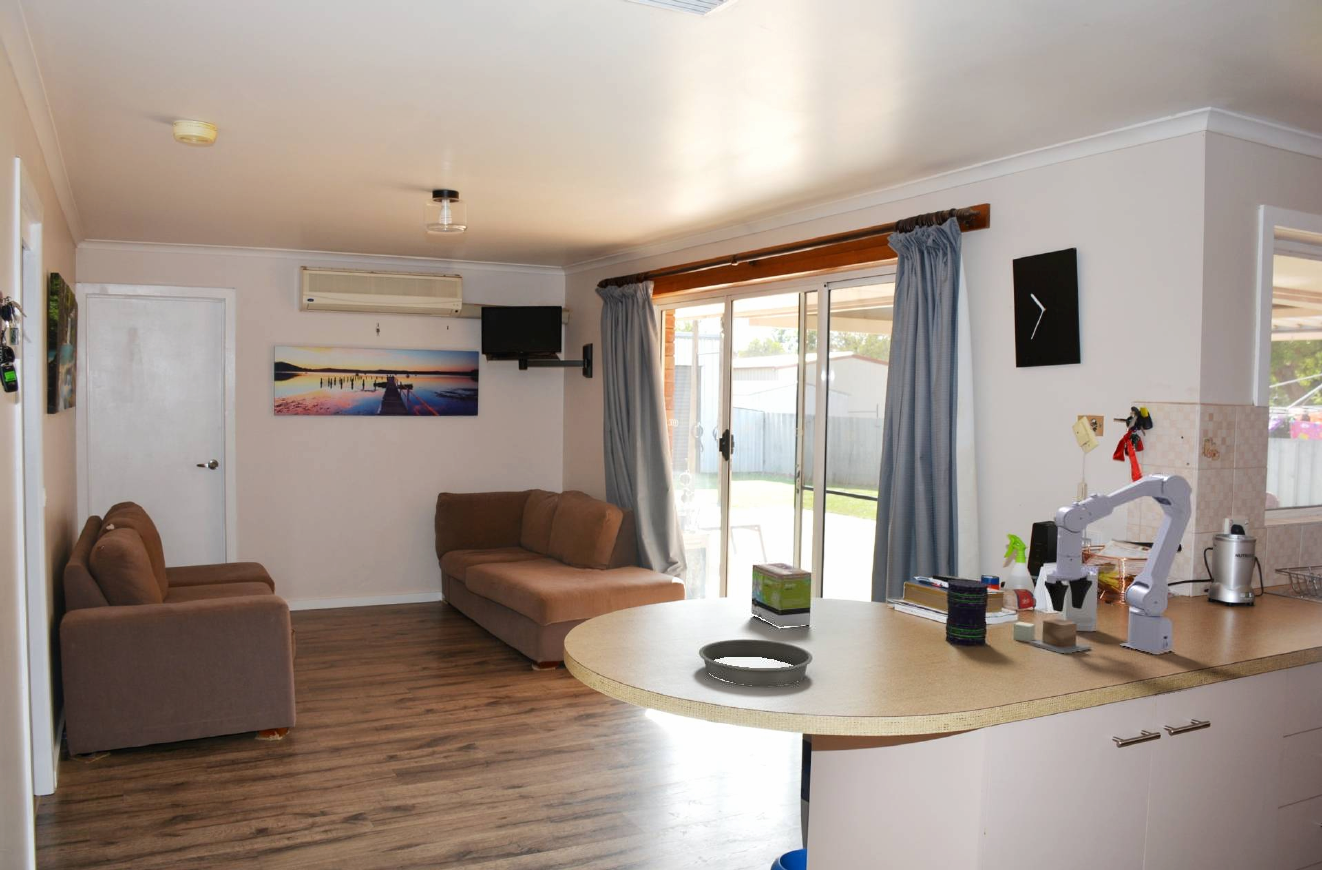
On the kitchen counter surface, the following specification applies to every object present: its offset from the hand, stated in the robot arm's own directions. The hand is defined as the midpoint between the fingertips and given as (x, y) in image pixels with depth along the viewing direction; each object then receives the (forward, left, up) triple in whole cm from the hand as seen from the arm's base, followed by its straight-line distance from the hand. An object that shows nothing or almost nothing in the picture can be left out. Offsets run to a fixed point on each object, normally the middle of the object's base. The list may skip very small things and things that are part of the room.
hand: (1067, 609), depth 237 cm
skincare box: (+11, -20, -10) cm, 25 cm away
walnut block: (0, +2, -9) cm, 9 cm away
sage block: (+10, +4, -9) cm, 14 cm away
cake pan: (+15, +85, -10) cm, 87 cm away
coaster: (0, +2, -9) cm, 10 cm away
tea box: (+51, +50, -10) cm, 72 cm away
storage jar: (+14, +20, -10) cm, 26 cm away
